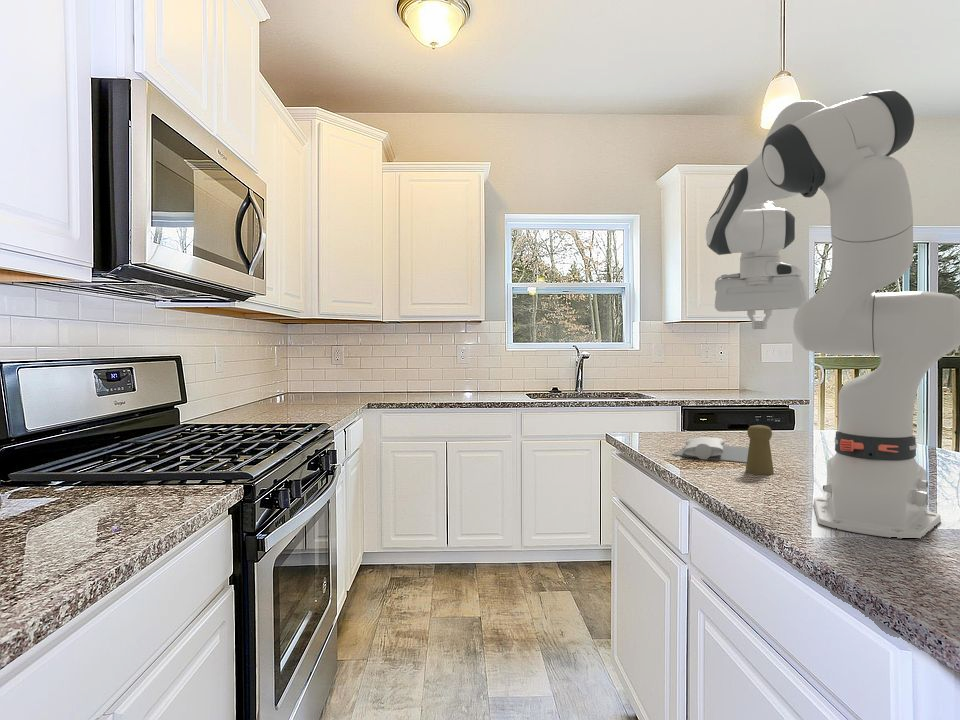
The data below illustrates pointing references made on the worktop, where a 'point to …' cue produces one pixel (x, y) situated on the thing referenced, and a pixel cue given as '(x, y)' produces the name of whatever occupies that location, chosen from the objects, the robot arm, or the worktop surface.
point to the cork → (759, 451)
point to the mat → (725, 454)
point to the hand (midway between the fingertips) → (759, 329)
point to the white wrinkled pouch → (704, 447)
